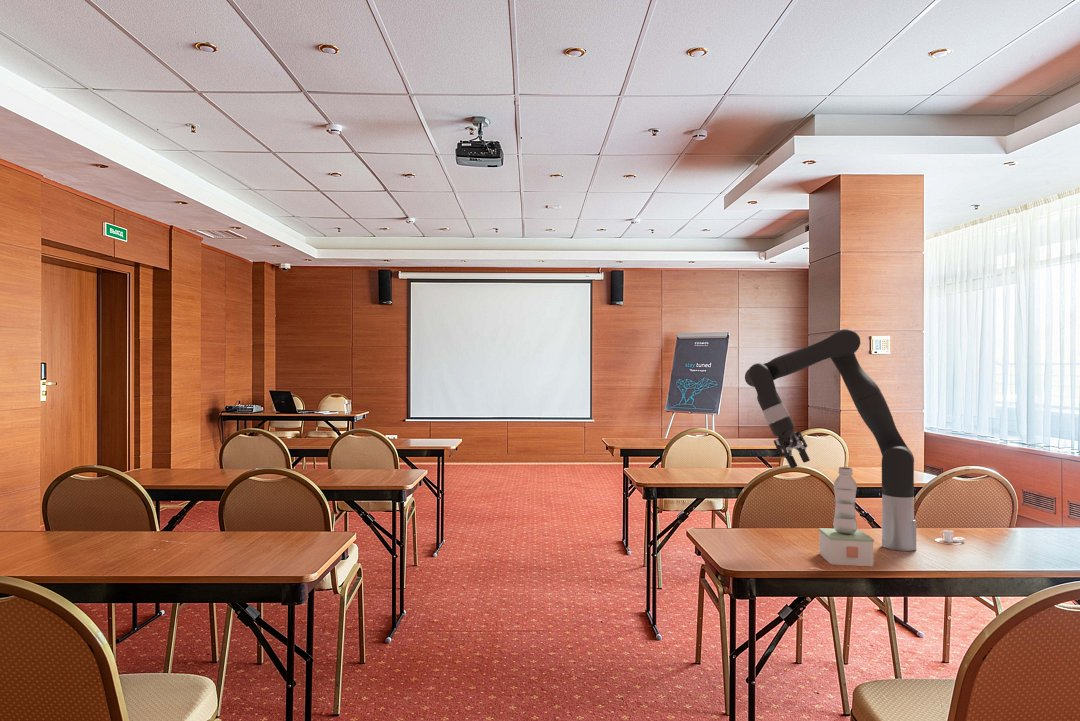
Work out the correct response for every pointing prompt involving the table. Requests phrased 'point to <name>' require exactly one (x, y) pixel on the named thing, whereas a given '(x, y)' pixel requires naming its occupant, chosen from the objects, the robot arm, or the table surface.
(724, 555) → the table surface
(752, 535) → the table surface
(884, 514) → the robot arm
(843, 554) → the raised stand
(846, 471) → the plastic bottle
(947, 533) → the teacup and saucer
